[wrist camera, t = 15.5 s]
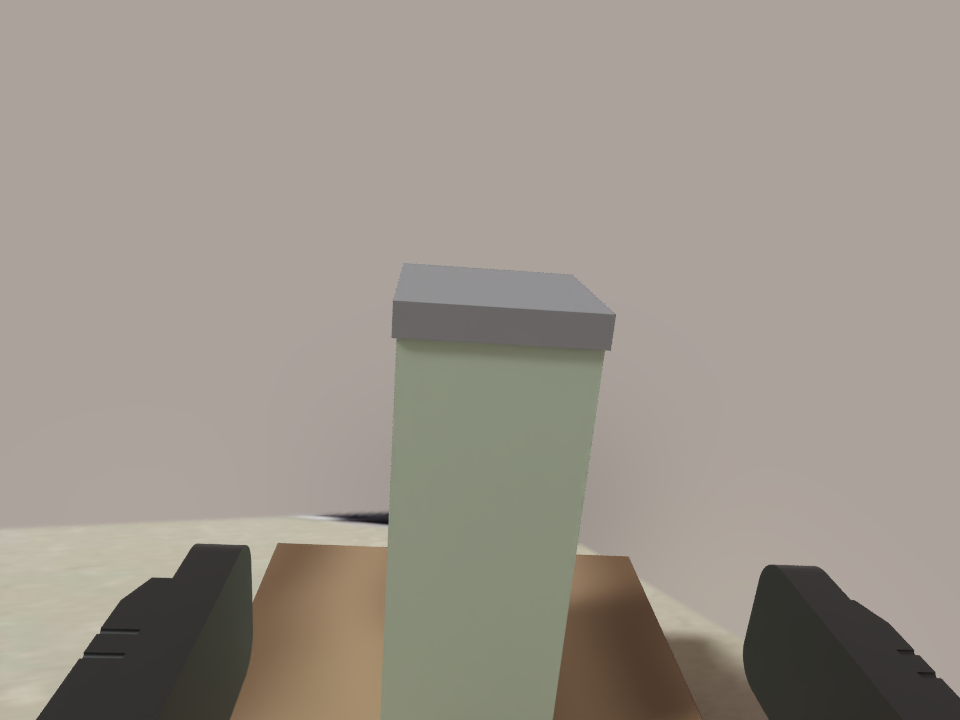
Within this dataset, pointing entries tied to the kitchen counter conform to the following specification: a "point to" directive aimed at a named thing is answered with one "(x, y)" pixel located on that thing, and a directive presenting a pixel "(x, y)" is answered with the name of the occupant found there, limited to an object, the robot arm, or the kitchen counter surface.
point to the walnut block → (360, 637)
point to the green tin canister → (486, 487)
